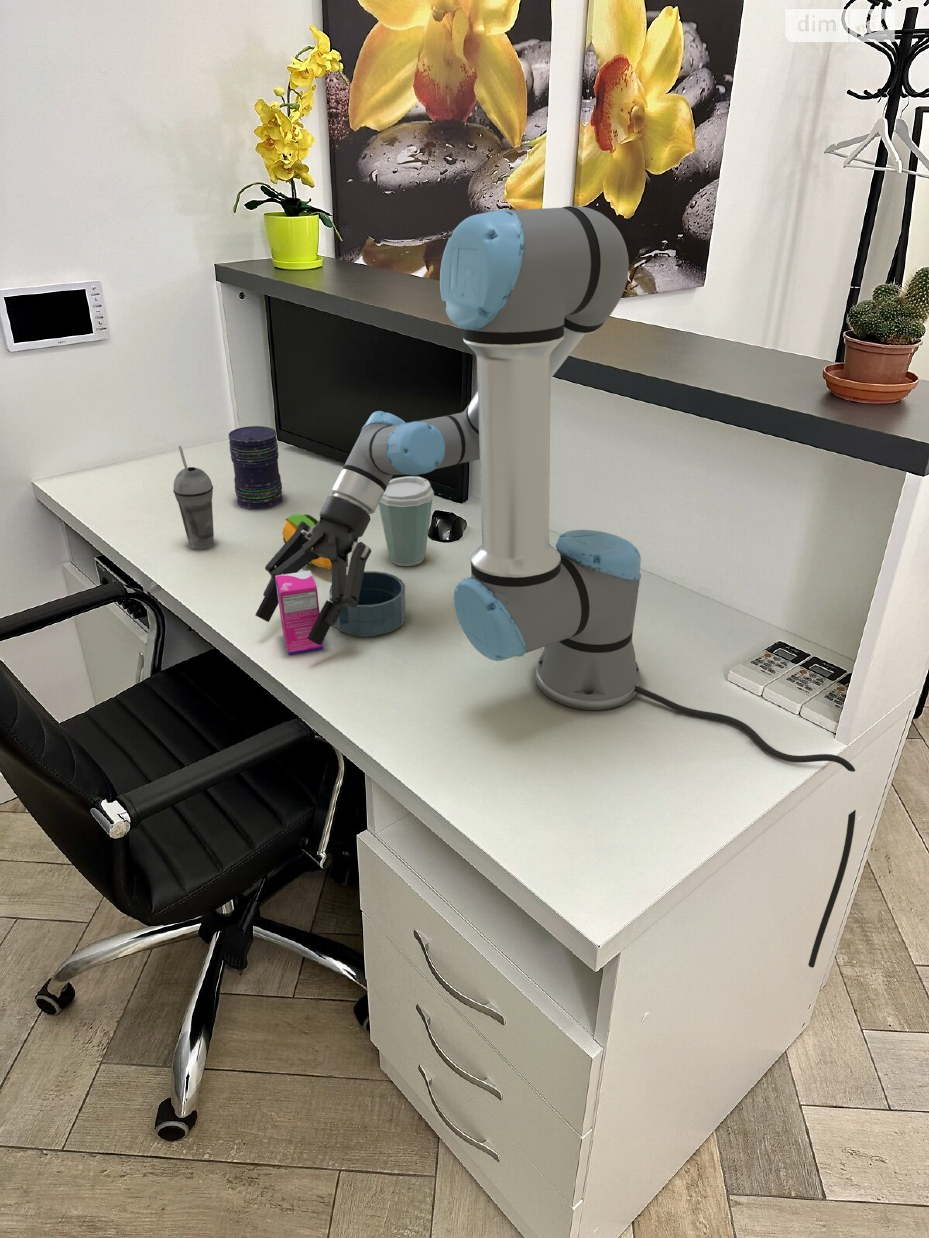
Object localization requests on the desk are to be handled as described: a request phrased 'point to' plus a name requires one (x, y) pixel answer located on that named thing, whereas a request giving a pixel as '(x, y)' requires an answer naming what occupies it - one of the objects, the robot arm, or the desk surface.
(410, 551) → the disposable coffee cup
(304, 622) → the supplement box
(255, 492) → the storage jar
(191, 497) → the beverage cup
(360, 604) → the bowl
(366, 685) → the desk surface
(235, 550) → the desk surface
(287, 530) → the corn
